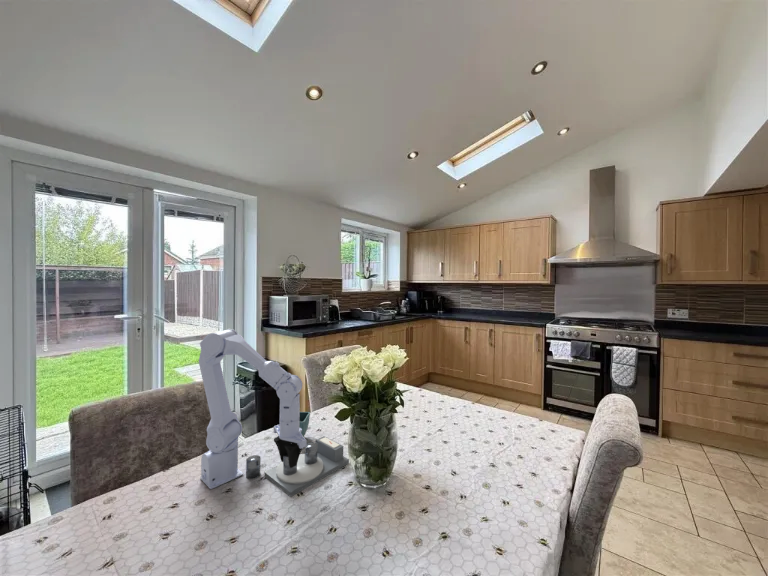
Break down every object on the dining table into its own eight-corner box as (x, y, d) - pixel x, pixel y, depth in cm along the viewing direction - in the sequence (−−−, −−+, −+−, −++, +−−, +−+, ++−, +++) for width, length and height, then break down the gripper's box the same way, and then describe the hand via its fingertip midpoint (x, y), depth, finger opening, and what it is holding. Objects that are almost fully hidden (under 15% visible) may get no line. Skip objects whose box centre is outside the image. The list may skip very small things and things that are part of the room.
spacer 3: (309, 466, 97) (309, 450, 97) (301, 461, 100) (302, 445, 100) (319, 460, 100) (320, 445, 100) (312, 456, 103) (312, 441, 103)
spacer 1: (250, 480, 93) (250, 464, 93) (243, 475, 96) (243, 459, 96) (262, 474, 96) (262, 458, 96) (256, 469, 99) (256, 453, 99)
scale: (290, 496, 87) (290, 476, 87) (264, 475, 96) (264, 457, 96) (348, 463, 103) (349, 446, 103) (322, 448, 112) (322, 432, 112)
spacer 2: (288, 477, 92) (289, 460, 92) (280, 472, 94) (280, 455, 94) (299, 470, 95) (300, 454, 95) (291, 465, 97) (291, 449, 97)
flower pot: (303, 446, 113) (304, 421, 113) (279, 445, 114) (280, 421, 114) (310, 434, 122) (310, 411, 122) (287, 434, 122) (287, 411, 122)
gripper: (315, 421, 92) (314, 466, 92) (287, 407, 102) (287, 449, 102) (294, 429, 87) (294, 477, 87) (267, 414, 96) (267, 458, 96)
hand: (289, 463), depth 94 cm, fingers closed on spacer 2, 4 cm apart
